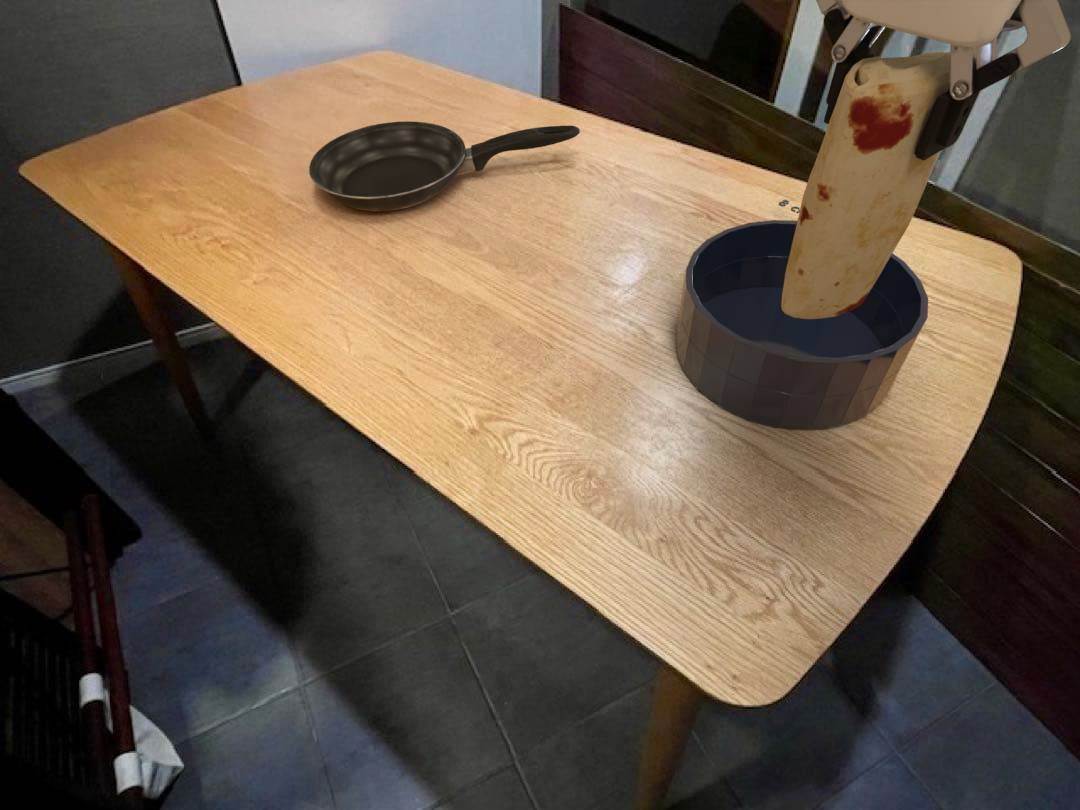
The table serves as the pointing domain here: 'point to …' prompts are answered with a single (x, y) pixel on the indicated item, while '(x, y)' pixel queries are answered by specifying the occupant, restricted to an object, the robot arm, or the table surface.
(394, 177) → the frying pan
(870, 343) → the pot
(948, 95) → the robot arm
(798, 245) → the food model
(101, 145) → the table surface
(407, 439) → the table surface
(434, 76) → the table surface
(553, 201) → the table surface
